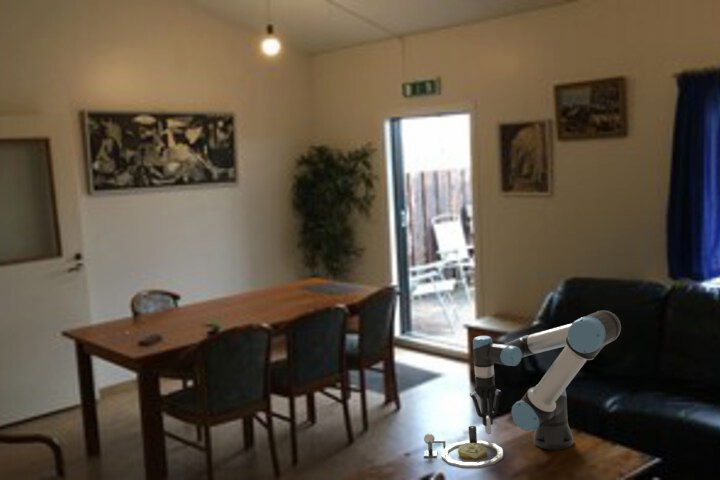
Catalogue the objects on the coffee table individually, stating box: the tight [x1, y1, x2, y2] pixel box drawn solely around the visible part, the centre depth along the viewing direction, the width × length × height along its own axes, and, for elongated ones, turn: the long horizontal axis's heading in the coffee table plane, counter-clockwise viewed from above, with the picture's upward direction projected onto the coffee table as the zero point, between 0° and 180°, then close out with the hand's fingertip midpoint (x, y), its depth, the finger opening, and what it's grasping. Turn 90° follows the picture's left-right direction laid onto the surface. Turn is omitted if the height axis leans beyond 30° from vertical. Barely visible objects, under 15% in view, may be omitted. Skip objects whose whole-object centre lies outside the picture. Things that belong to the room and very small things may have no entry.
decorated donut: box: [457, 443, 488, 461], centre depth 281 cm, size 10×11×4 cm
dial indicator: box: [423, 433, 447, 459], centre depth 284 cm, size 8×5×9 cm, turn 79°
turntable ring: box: [441, 425, 504, 468], centre depth 282 cm, size 23×24×7 cm
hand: (488, 432), depth 292 cm, fingers closed
